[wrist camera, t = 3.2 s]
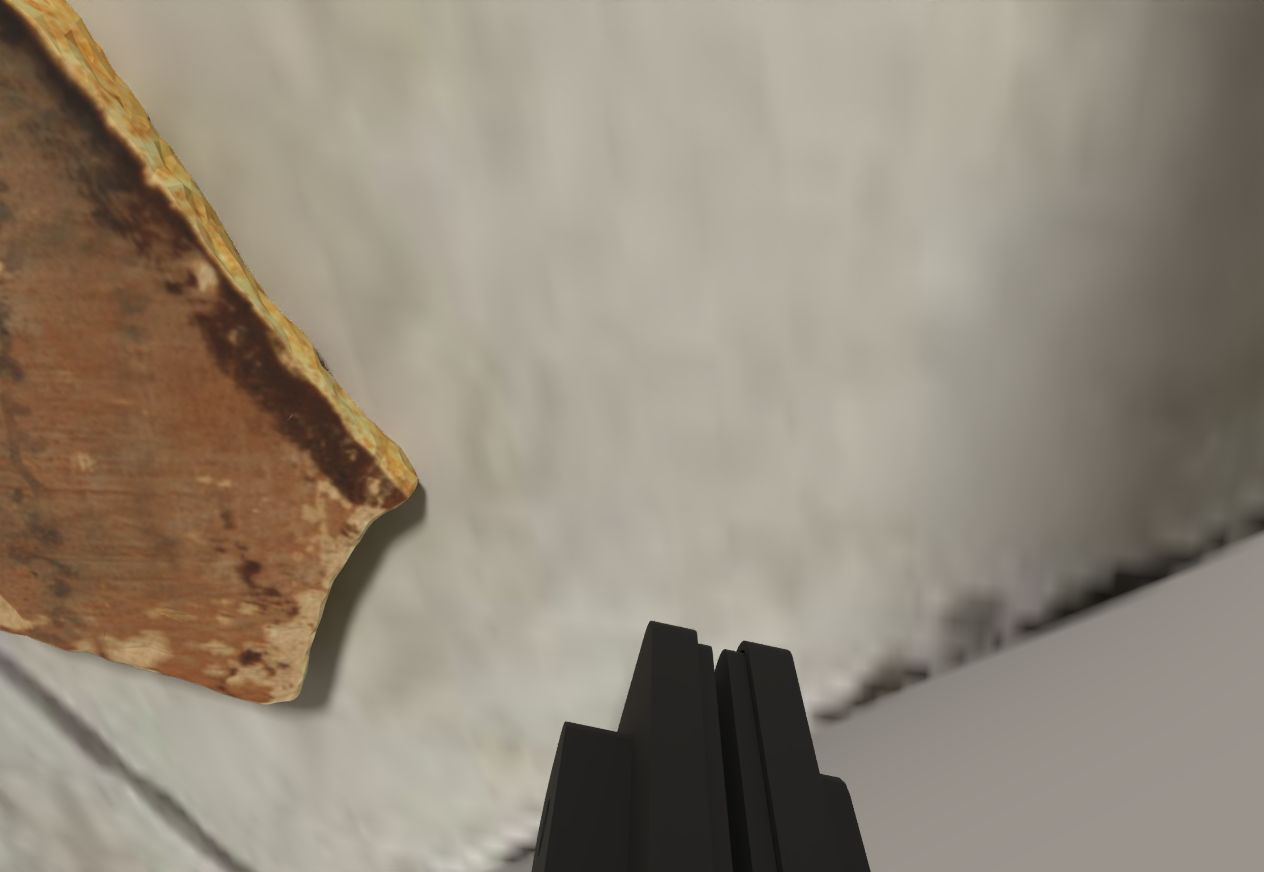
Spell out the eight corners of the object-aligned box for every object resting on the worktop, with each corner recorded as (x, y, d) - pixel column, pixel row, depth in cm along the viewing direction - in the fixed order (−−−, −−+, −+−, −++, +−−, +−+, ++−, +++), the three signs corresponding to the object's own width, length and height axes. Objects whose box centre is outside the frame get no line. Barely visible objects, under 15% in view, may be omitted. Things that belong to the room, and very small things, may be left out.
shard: (-65, -201, 10) (-203, -249, 9) (545, 13, 11) (521, 5, 9) (-58, 539, 15) (-151, 599, 13) (381, 663, 15) (346, 736, 14)
